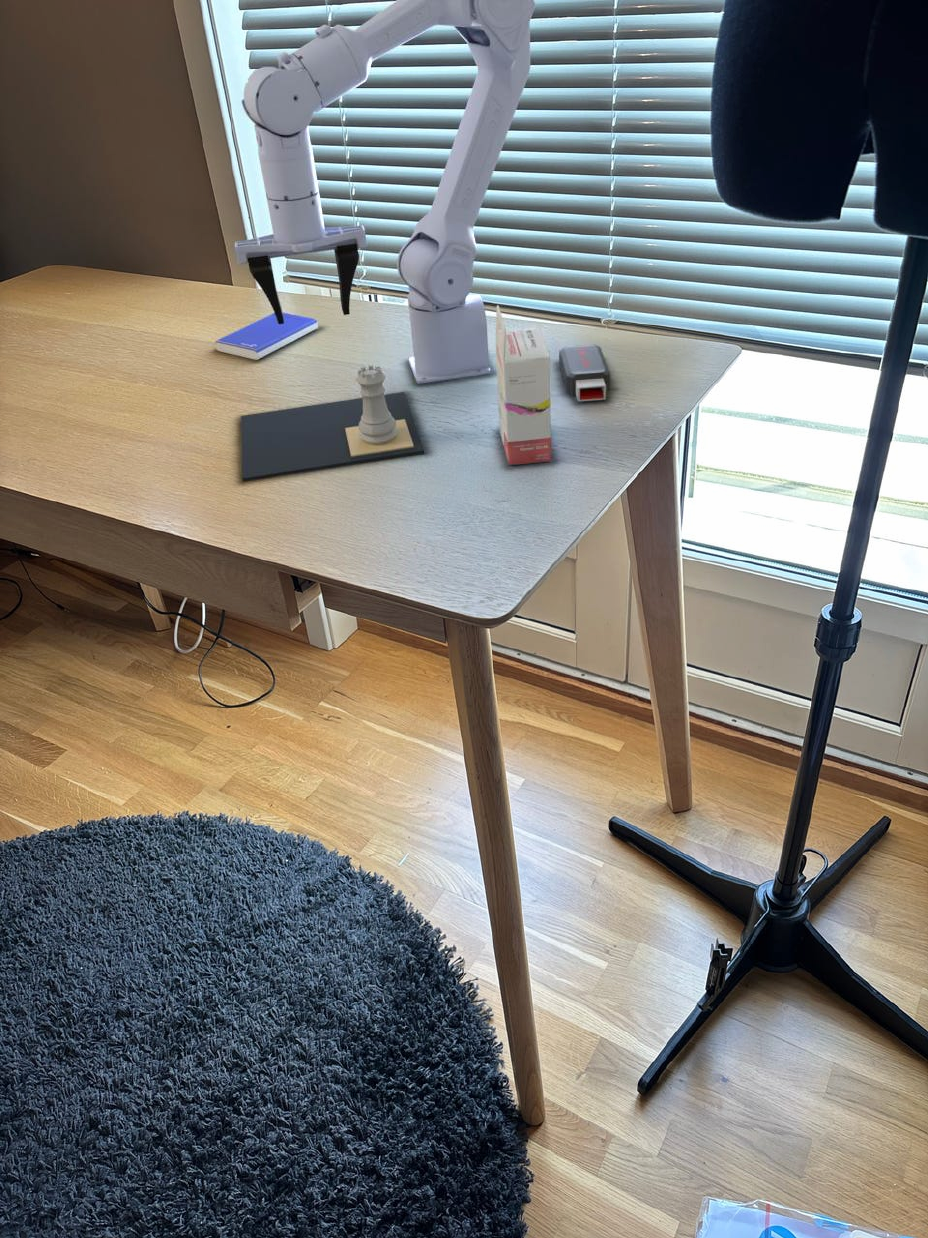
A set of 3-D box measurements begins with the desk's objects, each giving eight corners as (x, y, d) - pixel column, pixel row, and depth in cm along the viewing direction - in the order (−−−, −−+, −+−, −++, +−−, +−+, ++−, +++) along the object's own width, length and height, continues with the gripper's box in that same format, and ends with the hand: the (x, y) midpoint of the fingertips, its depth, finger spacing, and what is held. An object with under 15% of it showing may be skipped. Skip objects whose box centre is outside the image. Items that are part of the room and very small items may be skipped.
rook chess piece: (392, 446, 106) (383, 378, 101) (354, 445, 107) (343, 377, 102) (402, 428, 110) (394, 361, 105) (365, 427, 111) (355, 361, 106)
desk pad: (404, 394, 118) (403, 390, 118) (424, 453, 106) (423, 448, 105) (241, 418, 116) (240, 414, 116) (242, 481, 104) (241, 476, 103)
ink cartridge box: (554, 462, 102) (552, 327, 93) (507, 467, 102) (501, 332, 93) (542, 426, 109) (539, 297, 100) (498, 431, 109) (491, 302, 100)
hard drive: (256, 349, 129) (316, 318, 137) (214, 339, 133) (275, 310, 141) (258, 360, 130) (318, 329, 138) (216, 350, 134) (277, 320, 142)
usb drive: (599, 360, 122) (600, 339, 121) (613, 400, 113) (614, 378, 111) (559, 363, 122) (558, 342, 121) (569, 404, 113) (569, 382, 111)
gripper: (226, 211, 100) (252, 337, 109) (363, 194, 102) (378, 319, 110) (225, 195, 106) (250, 316, 114) (355, 179, 108) (371, 299, 116)
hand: (313, 316), depth 113 cm, fingers open, 7 cm apart
